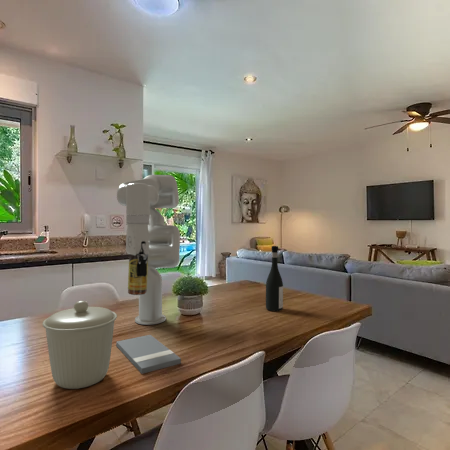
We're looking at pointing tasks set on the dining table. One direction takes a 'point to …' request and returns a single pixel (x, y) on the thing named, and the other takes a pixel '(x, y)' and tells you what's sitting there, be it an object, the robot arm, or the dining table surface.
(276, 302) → the wine bottle
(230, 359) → the dining table surface
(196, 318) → the dining table surface
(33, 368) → the dining table surface
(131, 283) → the sauce bottle
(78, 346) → the canister
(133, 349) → the board
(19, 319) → the dining table surface
